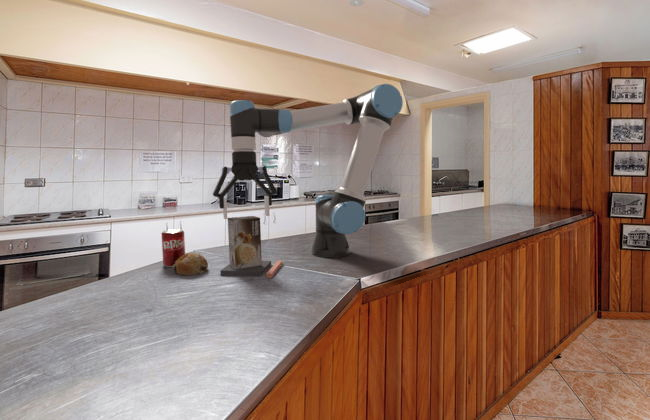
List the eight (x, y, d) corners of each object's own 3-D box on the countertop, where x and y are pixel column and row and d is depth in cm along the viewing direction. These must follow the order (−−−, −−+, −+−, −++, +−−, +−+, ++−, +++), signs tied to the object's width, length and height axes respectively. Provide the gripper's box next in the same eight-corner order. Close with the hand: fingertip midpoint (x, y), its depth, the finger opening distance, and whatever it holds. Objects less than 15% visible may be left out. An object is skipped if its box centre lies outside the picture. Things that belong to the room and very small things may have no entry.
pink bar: (282, 264, 124) (282, 260, 124) (271, 277, 108) (271, 274, 108) (277, 264, 124) (277, 260, 124) (266, 277, 108) (266, 273, 108)
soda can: (163, 263, 125) (162, 230, 124) (185, 261, 128) (184, 228, 127) (162, 268, 119) (160, 233, 117) (185, 266, 121) (183, 232, 120)
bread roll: (191, 287, 110) (200, 265, 109) (164, 272, 112) (172, 250, 110) (207, 278, 120) (216, 258, 119) (182, 264, 121) (190, 244, 120)
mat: (271, 265, 123) (271, 260, 123) (260, 276, 110) (260, 271, 110) (234, 264, 124) (234, 260, 124) (220, 275, 111) (220, 270, 111)
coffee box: (255, 261, 122) (254, 215, 120) (262, 265, 116) (261, 217, 115) (228, 265, 117) (227, 217, 115) (234, 270, 111) (233, 219, 110)
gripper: (278, 151, 121) (280, 213, 124) (201, 151, 111) (205, 218, 113) (285, 150, 114) (286, 215, 117) (204, 150, 104) (208, 221, 107)
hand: (246, 217), depth 115 cm, fingers open, 13 cm apart
